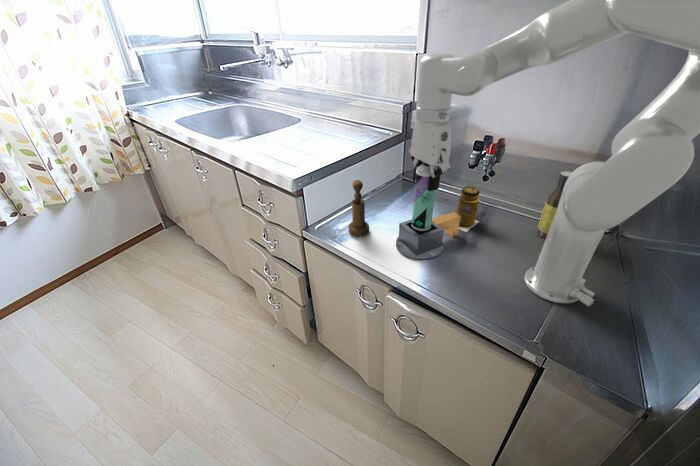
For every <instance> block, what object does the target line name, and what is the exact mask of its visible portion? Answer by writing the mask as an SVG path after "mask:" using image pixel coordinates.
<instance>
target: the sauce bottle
mask: <svg viewBox="0 0 700 466" xmlns="http://www.w3.org/2000/svg"><path fill="white" fill-rule="evenodd" d="M572 172H573V171H566V170H565V171H561V172H559V176H558V182H557V184H556V186H555V188H554V189H552V190H551V191H550V193H549V194H548V196H547V199H546V201H545V205H544V207H543V210H542V213H541V216H540V219H539V223H538V226H537V230H536V234H537V236H539V237H540V238H543V239H546V237H547V234H548V232H549V229H550V227H551V224H552V222H553V219H554V216H555V213H556V210H557V208H558V205H559V201H560V198H561V195H562V192H563V189H564V186H565V183H566V181H567V179H568V177H569V176H570V174H571V173H572Z"/></svg>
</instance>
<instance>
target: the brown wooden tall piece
mask: <svg viewBox="0 0 700 466" xmlns="http://www.w3.org/2000/svg"><path fill="white" fill-rule="evenodd" d="M363 186H364V185H363V182H362V180H360V179H357V180H354V181H353V182H352V188H353V190H354V191H355V192H354V193H353V197H354V199H352V201H351V211H352V212H351V213H352V222H350V223H349V224H348V233H349V235H350V236H352V237H354V238H363V237H366V236H368V235H369V233H370V224H369V223H368V222H366V218H365V217H366V215H365V213H366V211H365V200H364V199H362V193H361V190H362V188H363Z"/></svg>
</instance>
